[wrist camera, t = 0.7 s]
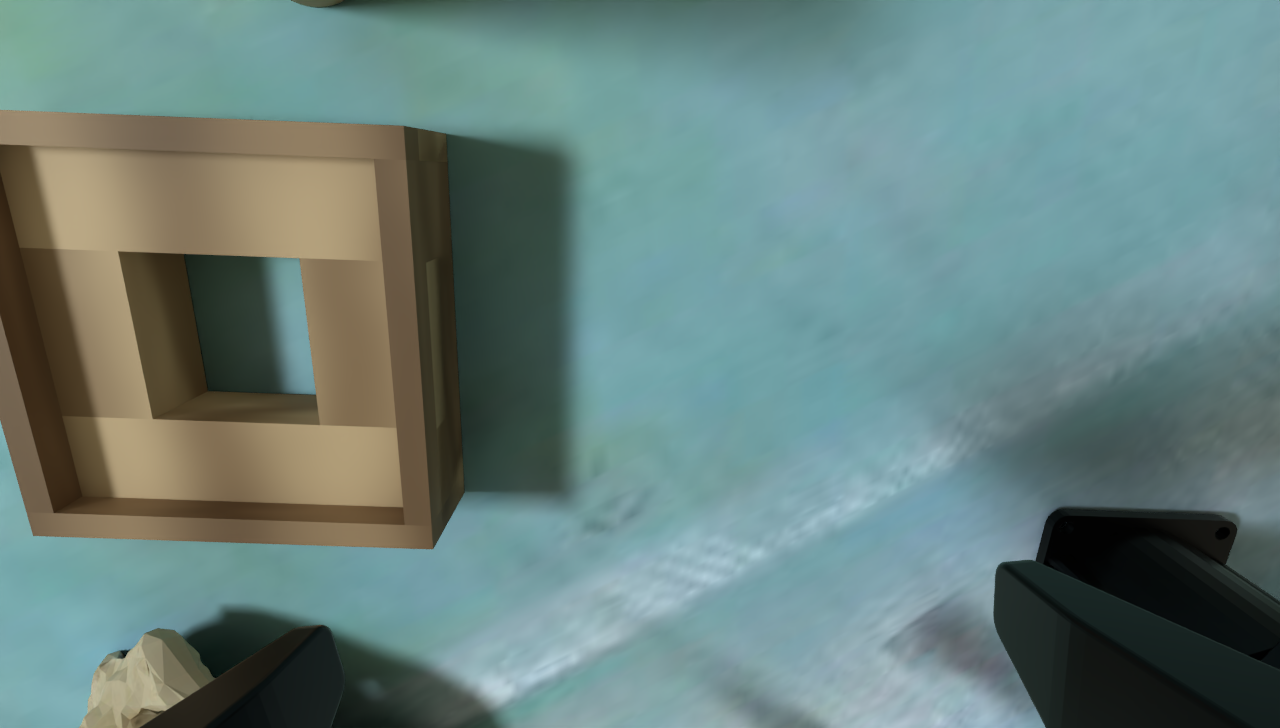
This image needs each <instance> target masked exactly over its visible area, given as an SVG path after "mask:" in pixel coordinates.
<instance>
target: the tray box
mask: <svg viewBox="0 0 1280 728" xmlns="http://www.w3.org/2000/svg"><path fill="white" fill-rule="evenodd" d="M184 254H203V255H230V256H256V257H283V258H300V266H301V275H302V283H303V291H304V299H305V307H306V315H307V323H308V332H309V340H310V348H311V356H312V364H313V372H314V380H315V388H316V395H301V394H273V393H245V392H217V391H208V389H207V383H206V378H205V372H204V366H203V361H202V355H201V349H200V344H199V338H198V332H197V327H196V321H195V315H194V310H193V304H192V299H191V293H190V287H189V282H188V276H187V270H186V265H185V259H184ZM0 421H1V424H2V428H3V431H4V435H5V438H6V442H7V445H8V449H9V452H10V456H11V459H12V463H13V466H14V470H15V473H16V477H17V480H18V484H19V487H20V491H21V494H22V498H23V501H24V505H25V508H26V512H27V515H28V519H29V522H30V526H31V529H32V533H33V536H54V537H84V538H114V539H143V540H173V541H203V542H232V543H262V544H292V545H321V546H351V547H381V548H410V549H434V547H435V545H436V543H437V541H438V539H439V538H440V536H441V534H442V532H443V530H444V529H445V527H446V525H447V523H448V521H449V519H450V518H451V516H452V514H453V512H454V510H455V509H456V507H457V505H458V503H459V501H460V499H461V498H462V496H463V494H464V475H463V455H462V435H461V416H460V396H459V377H458V357H457V338H456V318H455V298H454V279H453V259H452V240H451V220H450V200H449V181H448V161H447V142H446V134H444V133H439V132H434V131H428V130H423V129H417V128H412V127H407V126H393V125H368V124H343V123H317V122H292V121H266V120H241V119H216V118H190V117H165V116H140V115H114V114H89V113H64V112H38V111H13V110H0Z"/></svg>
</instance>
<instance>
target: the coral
mask: <svg viewBox="0 0 1280 728" xmlns="http://www.w3.org/2000/svg"><path fill="white" fill-rule="evenodd" d="M214 679H216V678H214V677H212V675H211V673H210V671H209V669H208V668H207V667H206V666H205V665H203V664H202V662H201V660H200V655H199V653H198V652H197V651H196V650H195V649H194V648H193V647H192V646H191V645H190V644H189V643H188V642H187V641H186V640H185V639H184V638H183V637H182V636H181V635H180V634H178V633H177V632H176V631H175V630H168V629H159V628H158V629H155V630H152V631H150V632H147V633H145V634H144V635H143V636H142V638H141V639H140V641H139V642H138V643H137V645H136V646H135V647H134V648H133V649H131V650H130V651H129V652H128V653H127V655H126V657H125V658H124V655H123V653H122V652H121V651H118V652H114V653H111V654H108V655H107V656H106V657H105V659H104V660H103V661H102V662H101V664H100V665H99V666H98V668H97V670H96V671H95V673H94V676H93V680H92V688H91V695H90V697H89V699H88V713H87V715H86V716H85V717H84V719H83V722H82V724H81V726H80V727H79V728H139V727H141V726H142V725H144V724H145V723H147V722H149V721H150V720H152V719H153V718H155V717H156V716H158V715H160V714H161V713H163V712H164V711H166V710H167V709H169V708H170V707H172V706H174V705H175V704H177V703H178V702H180V701H181V700H183V699H185V698H186V697H188V696H189V695H191V694H192V693H194V692H195V691H197V690H199V689H200V688H202V687H203V686H205V685H206V684H208V683H209V682H211V681H213V680H214Z"/></svg>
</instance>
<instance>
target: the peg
mask: <svg viewBox="0 0 1280 728" xmlns="http://www.w3.org/2000/svg"><path fill="white" fill-rule="evenodd" d="M291 1H294V2H296V3H299V4H301V5H305V6H311V7H327V6H332V5H335V4H338V3H340V2H342V1H344V0H291Z"/></svg>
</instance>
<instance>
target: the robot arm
mask: <svg viewBox="0 0 1280 728" xmlns="http://www.w3.org/2000/svg"><path fill="white" fill-rule="evenodd" d="M1065 522H1067V523H1066V525H1065V526H1063V527H1062V528H1060V526H1061V525H1062V524H1063V523H1065ZM1217 530H1218V531H1217ZM1236 534H1237V527H1236V525H1235V524H1234V523H1233V522H1231V521H1229V520H1228V519H1226V518H1224V517H1223V516H1220V515H1206V514H1177V513H1148V512H1119V511H1090V510H1057V511H1055V512H1053V513H1051V514H1050V515H1049V516H1048V518H1047V520H1046V522H1045V526H1044V530H1043V534H1042V538H1041V542H1040V546H1039V549H1038V553H1037V557H1036V561H1033V560H1021V561H1010V562H1003V563H1001V564H1000V565H998V567H997V569H996V574H995V593H994V623H995V627H996V630H997V633H998V635H999V637H1000V639H1001V641H1002V643H1003V645H1004V647H1005V649H1006V651H1007V653H1008V655H1009V657H1010V659H1011V661H1012V663H1013V665H1014V667H1015V669H1016V670H1017V672H1018V674H1019V676H1020V678H1021V680H1022V682H1023V684H1024V686H1025V688H1026V690H1027V692H1028V694H1029V696H1030V698H1031V700H1032V702H1033V704H1034V706H1035V707H1036V709H1037V711H1038V713H1039V715H1040V717H1041V719H1042V721H1043V723H1044V725H1045V727H1046V728H1280V601H1278V600H1277V599H1275V598H1274V597H1273V596H1271V595H1270V594H1268V593H1267V592H1265V591H1264V590H1262V589H1261V588H1259V587H1258V586H1256V585H1255V584H1253V583H1252V582H1250V581H1249V580H1247V579H1246V578H1244V577H1243V576H1241V575H1240V574H1238V573H1237V572H1236V571H1234V570H1233V569H1231V568H1230V567H1228V566H1227V565H1225V564H1226V561H1227V559H1228V556H1229V553H1230V550H1231V548H1232V545H1233V542H1234V539H1235V537H1236ZM344 686H345V674H344V669H343V666H342V663H341V660H340V656H339V653H338V650H337V647H336V644H335V640H334V637H333V634H332V632H331V630H330V629H329V628H328V627H327V626H324V625H315V626H304V627H297V628H294V629H292V630H291V631H289V632H288V633H286V634H284V635H283V636H281V637H280V638H278V639H277V640H275V641H274V642H272V643H270V644H269V645H267V646H266V647H264V648H263V649H261V650H259V651H258V652H256V653H255V654H253V655H252V656H250V657H249V658H247V659H245V660H244V661H242V662H241V663H239V664H238V665H236V666H234V667H233V668H231V669H230V670H228V671H227V672H225V673H224V674H222V675H220V676H219V677H217V678H216V679H214V680H213V681H211V682H209V683H208V684H206V685H205V686H203V687H202V688H200V689H199V690H197V691H195V692H194V693H192V694H191V695H189V696H188V697H186V698H185V699H183V700H181V701H180V702H178V703H177V704H175V705H174V706H172V707H170V708H169V709H167V710H166V711H164V712H163V713H161V714H160V715H158V716H156V717H155V718H153V719H152V720H150V721H149V722H147V723H145V724H144V725H142V726H141V727H139V728H331V726H332V723H333V720H334V717H335V714H336V711H337V709H338V706H339V703H340V700H341V697H342V694H343V691H344Z"/></svg>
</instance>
